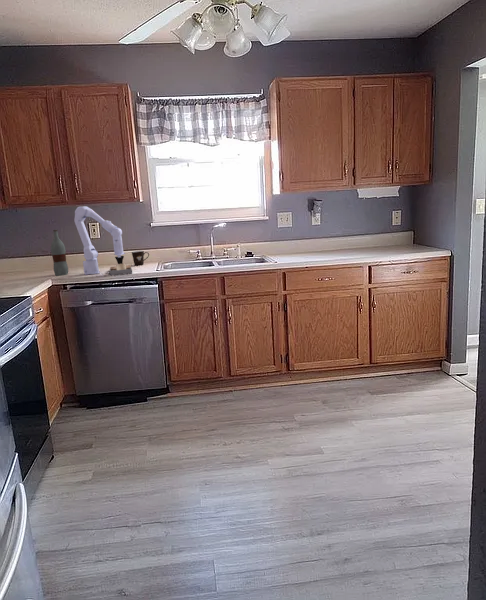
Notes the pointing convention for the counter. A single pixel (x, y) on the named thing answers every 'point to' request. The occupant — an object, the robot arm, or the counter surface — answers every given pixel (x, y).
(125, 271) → the box
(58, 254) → the bottle
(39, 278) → the counter surface
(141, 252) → the coffee mug
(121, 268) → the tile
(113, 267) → the plate
